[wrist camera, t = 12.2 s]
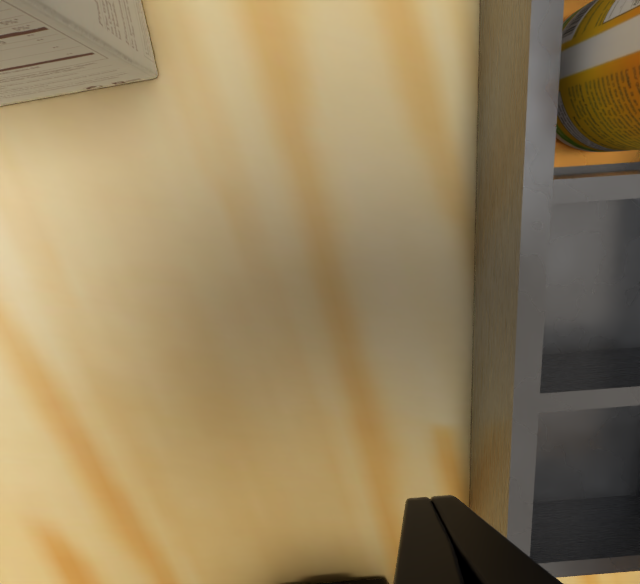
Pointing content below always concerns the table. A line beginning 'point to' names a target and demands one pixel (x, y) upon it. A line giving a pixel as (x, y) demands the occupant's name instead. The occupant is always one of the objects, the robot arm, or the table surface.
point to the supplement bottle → (600, 77)
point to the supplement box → (71, 47)
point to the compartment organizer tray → (552, 312)
